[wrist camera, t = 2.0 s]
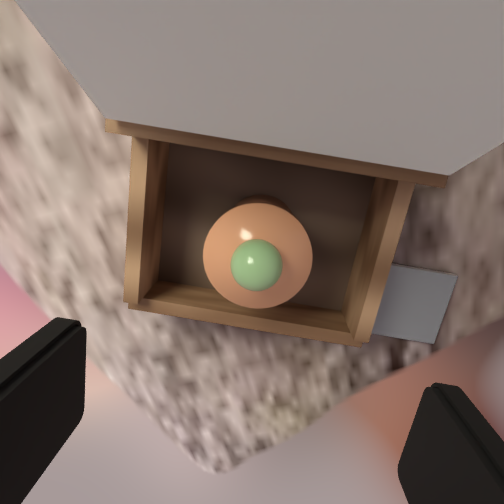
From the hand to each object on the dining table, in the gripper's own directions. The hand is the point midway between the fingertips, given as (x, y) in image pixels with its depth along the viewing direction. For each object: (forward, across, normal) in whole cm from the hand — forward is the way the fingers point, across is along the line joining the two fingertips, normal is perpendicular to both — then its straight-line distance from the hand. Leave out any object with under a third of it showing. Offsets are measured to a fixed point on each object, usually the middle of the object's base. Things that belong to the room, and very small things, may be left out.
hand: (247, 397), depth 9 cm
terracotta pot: (+18, 0, -1) cm, 18 cm away
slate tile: (+18, -12, +3) cm, 22 cm away
